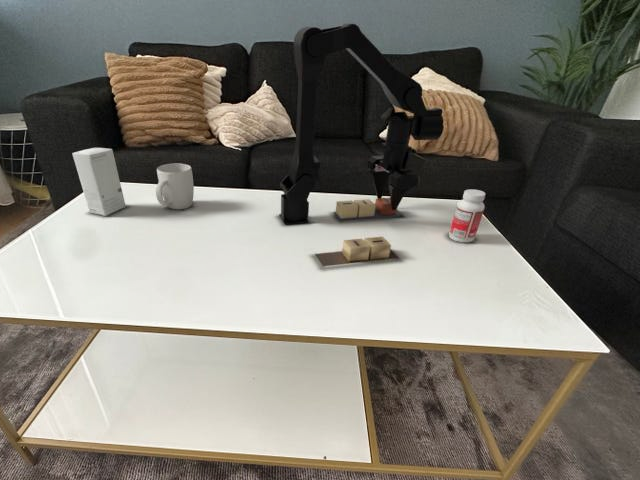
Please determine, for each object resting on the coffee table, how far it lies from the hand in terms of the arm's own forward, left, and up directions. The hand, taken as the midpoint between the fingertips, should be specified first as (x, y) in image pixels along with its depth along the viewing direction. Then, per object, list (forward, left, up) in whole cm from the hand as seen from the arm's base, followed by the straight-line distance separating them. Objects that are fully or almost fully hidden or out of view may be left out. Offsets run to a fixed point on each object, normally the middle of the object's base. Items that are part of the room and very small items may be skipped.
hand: (386, 204), depth 111 cm
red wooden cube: (0, 0, -2) cm, 2 cm away
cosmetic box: (-74, +18, -3) cm, 76 cm away
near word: (-18, -24, -3) cm, 30 cm away
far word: (-5, 0, -3) cm, 6 cm away
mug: (-56, +16, -3) cm, 58 cm away
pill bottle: (+12, -19, -3) cm, 23 cm away
